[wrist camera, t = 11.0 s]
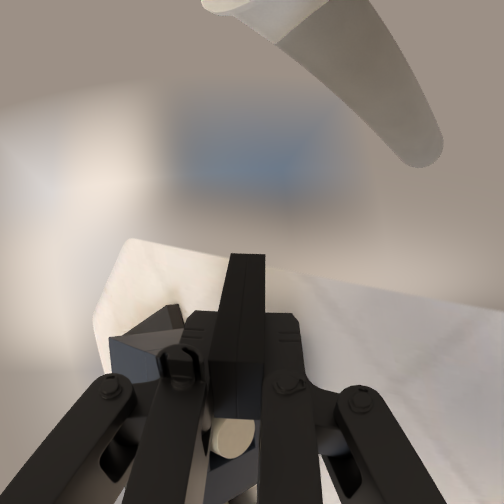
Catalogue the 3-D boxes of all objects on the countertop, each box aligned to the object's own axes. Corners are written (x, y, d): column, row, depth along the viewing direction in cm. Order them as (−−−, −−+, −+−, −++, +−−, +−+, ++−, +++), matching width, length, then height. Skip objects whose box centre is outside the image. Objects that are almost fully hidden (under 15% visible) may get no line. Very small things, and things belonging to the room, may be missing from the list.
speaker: (224, 428, 31) (120, 466, 21) (219, 322, 31) (99, 337, 22) (298, 455, 24) (187, 523, 15) (299, 331, 25) (164, 365, 16)
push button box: (178, 303, 36) (152, 305, 34) (198, 370, 34) (172, 376, 31) (131, 334, 44) (110, 337, 42) (145, 386, 42) (124, 390, 39)
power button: (220, 432, 22) (184, 447, 19) (217, 392, 22) (179, 404, 20) (255, 447, 20) (219, 466, 17) (254, 404, 20) (215, 421, 17)
